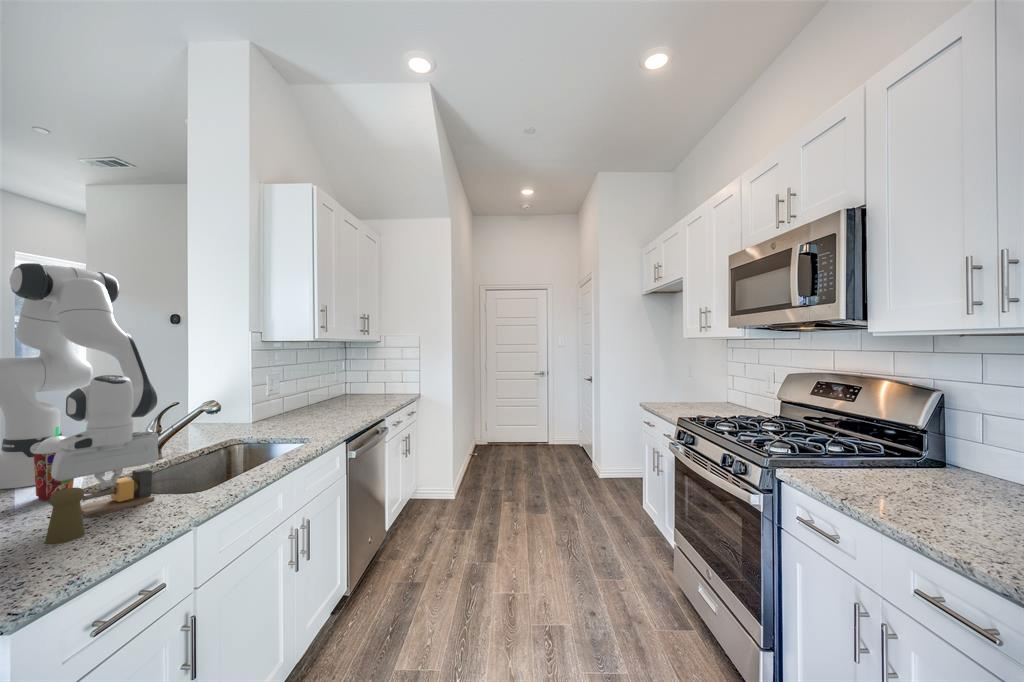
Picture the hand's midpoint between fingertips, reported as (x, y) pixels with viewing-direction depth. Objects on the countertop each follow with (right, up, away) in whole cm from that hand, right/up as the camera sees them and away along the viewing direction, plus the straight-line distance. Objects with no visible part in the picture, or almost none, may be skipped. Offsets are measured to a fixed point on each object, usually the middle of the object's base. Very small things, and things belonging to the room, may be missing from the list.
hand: (108, 487), depth 105 cm
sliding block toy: (+1, -5, +2) cm, 6 cm away
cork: (+7, -6, -16) cm, 19 cm away
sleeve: (+1, -4, +3) cm, 5 cm away
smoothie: (-22, -5, +6) cm, 23 cm away
